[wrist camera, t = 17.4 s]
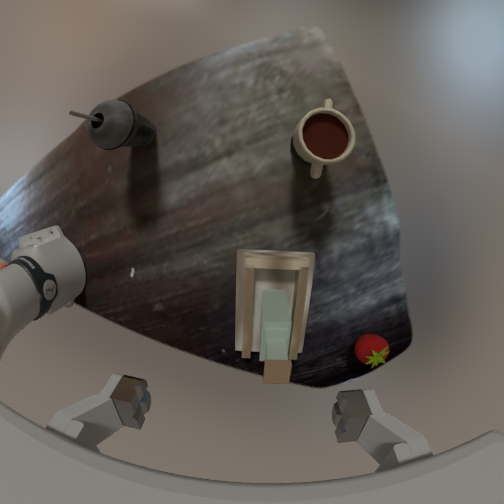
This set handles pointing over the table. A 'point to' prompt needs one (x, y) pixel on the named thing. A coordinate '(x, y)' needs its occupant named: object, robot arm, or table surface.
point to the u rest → (278, 278)
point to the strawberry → (371, 349)
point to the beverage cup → (117, 125)
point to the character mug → (323, 138)
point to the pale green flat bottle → (275, 336)
